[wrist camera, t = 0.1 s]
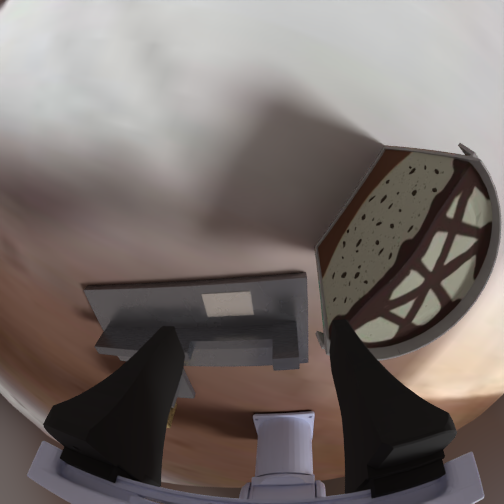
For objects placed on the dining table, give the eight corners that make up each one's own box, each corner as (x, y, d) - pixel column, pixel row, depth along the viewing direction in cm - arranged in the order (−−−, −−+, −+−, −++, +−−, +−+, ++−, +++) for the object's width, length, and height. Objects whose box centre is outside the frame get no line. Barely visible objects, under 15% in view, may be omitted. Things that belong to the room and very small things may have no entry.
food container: (360, 294, 23) (395, 387, 14) (303, 262, 22) (319, 361, 13) (447, 178, 17) (533, 229, 9) (394, 129, 16) (486, 150, 8)
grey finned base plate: (195, 393, 31) (188, 419, 27) (146, 388, 32) (137, 412, 28) (180, 362, 28) (171, 391, 25) (127, 359, 29) (115, 384, 26)
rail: (307, 356, 26) (311, 396, 22) (123, 355, 29) (107, 387, 24) (305, 272, 22) (312, 312, 18) (87, 285, 24) (61, 315, 20)
